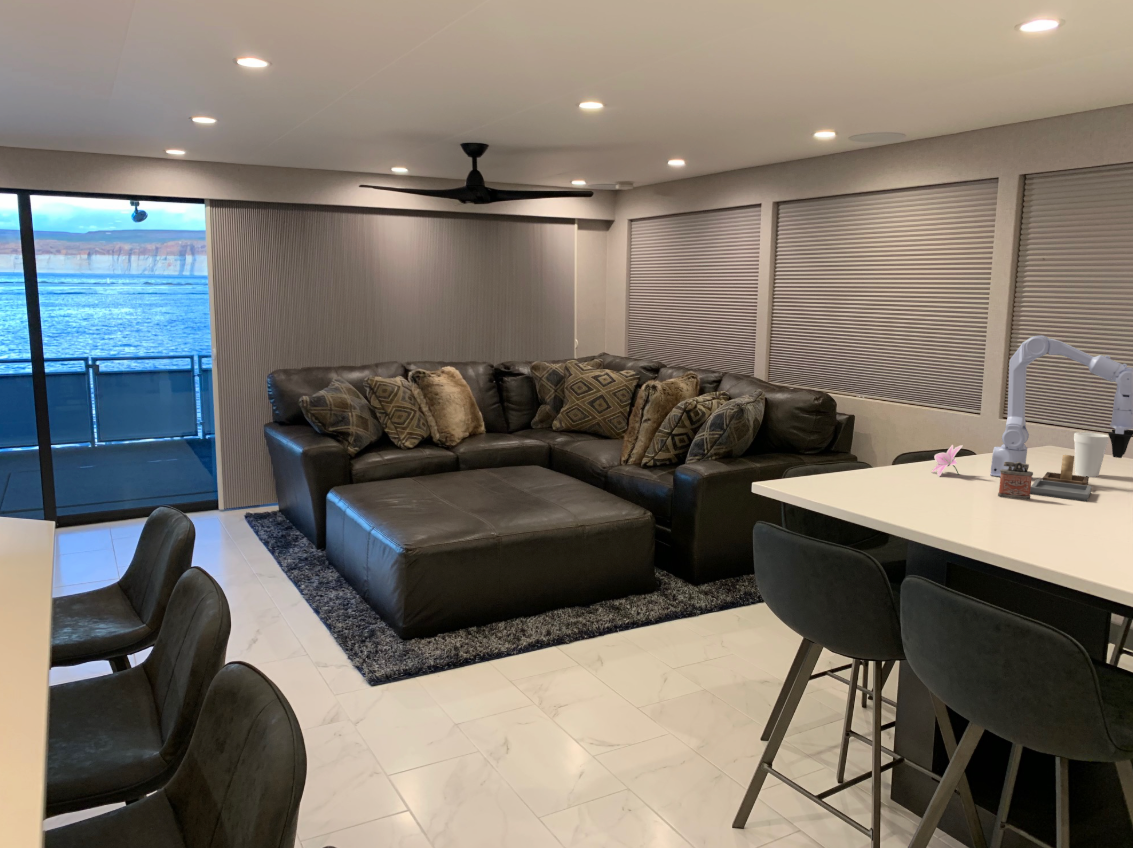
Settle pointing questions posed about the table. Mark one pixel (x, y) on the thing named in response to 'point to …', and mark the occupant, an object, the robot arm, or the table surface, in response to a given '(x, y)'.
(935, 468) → the lily
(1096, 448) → the foam cup
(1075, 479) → the holder
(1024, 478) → the lighter
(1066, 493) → the tray
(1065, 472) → the pin
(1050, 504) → the table surface
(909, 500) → the table surface
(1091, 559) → the table surface
